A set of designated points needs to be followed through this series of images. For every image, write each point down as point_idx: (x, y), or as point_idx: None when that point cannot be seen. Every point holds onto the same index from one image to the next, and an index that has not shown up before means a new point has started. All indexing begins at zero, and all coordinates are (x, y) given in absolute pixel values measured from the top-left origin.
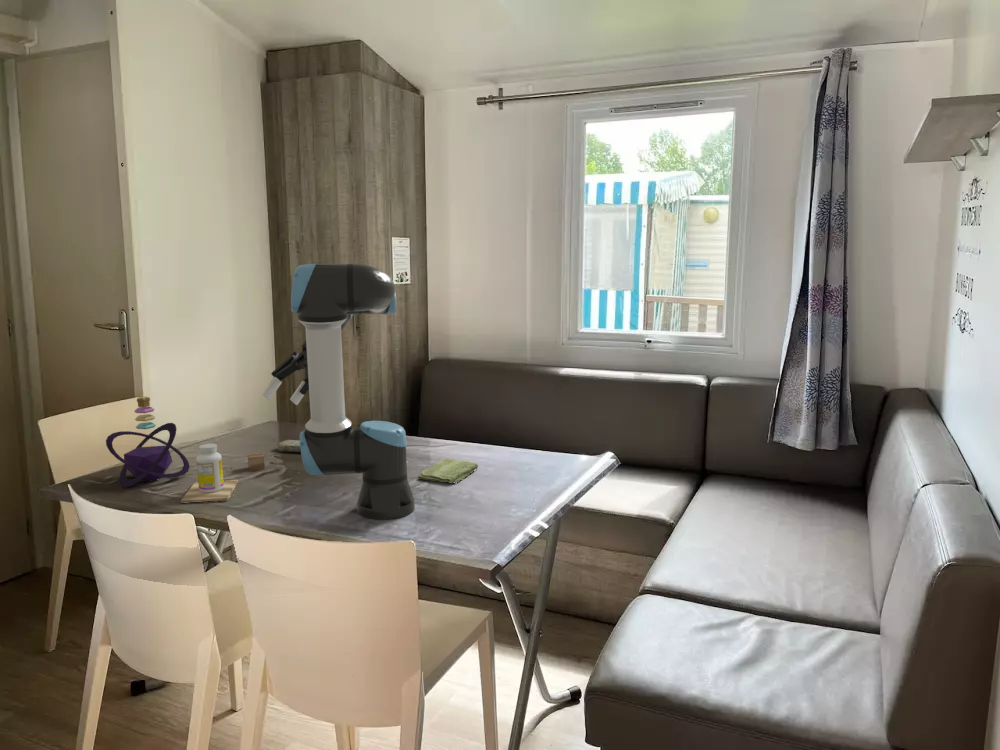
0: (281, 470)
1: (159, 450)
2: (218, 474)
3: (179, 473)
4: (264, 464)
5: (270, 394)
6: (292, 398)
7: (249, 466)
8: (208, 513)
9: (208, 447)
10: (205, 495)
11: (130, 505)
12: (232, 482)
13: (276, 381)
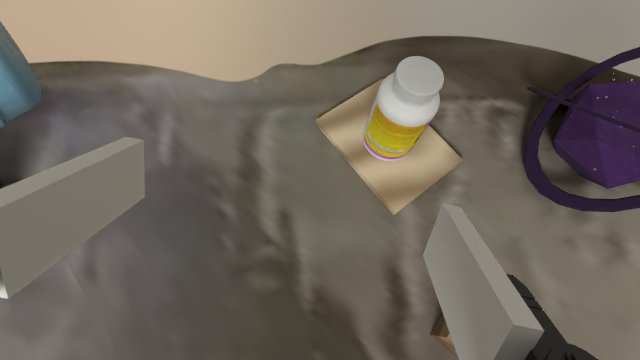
0: (383, 353)
1: (625, 135)
2: (369, 119)
3: (533, 169)
4: (435, 335)
5: (435, 257)
6: (118, 142)
7: None
8: (295, 70)
9: (401, 63)
10: (365, 111)
11: (449, 47)
12: (388, 192)
13: (485, 325)
